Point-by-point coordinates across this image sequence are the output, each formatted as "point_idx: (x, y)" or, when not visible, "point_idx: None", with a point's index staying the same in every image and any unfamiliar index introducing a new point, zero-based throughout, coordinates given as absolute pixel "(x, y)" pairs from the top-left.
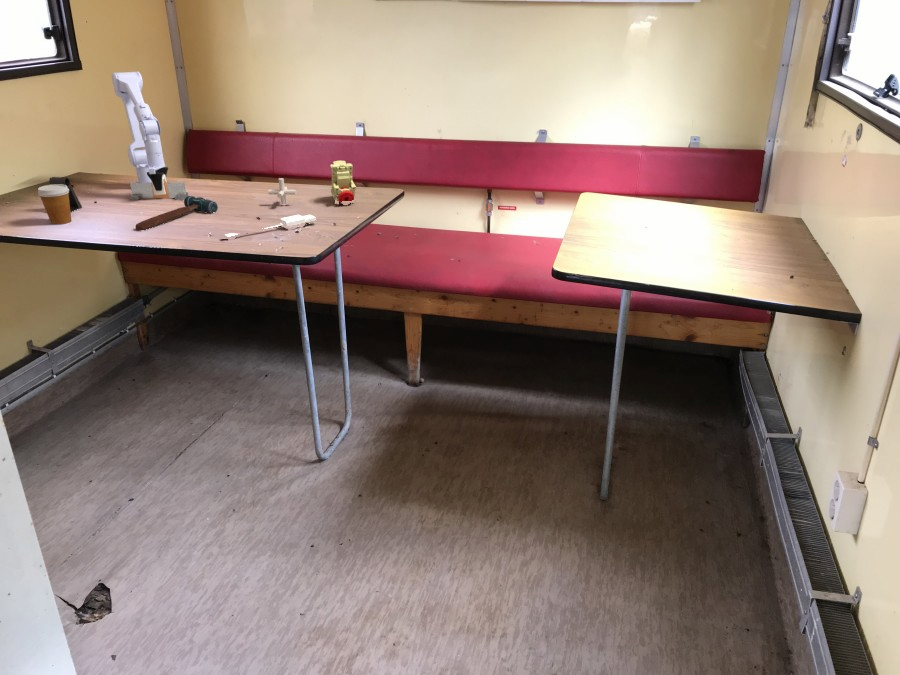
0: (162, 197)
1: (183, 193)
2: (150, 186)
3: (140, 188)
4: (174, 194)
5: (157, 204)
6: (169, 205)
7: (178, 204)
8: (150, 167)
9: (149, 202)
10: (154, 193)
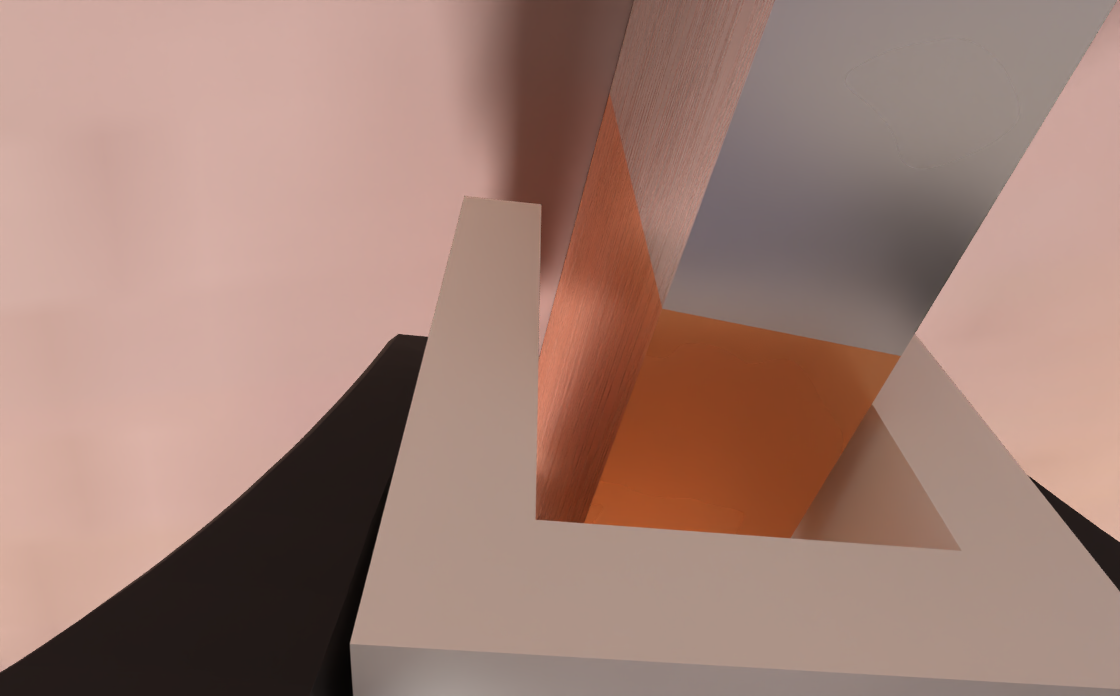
0: (554, 304)
1: None
2: (656, 190)
3: None
4: None
5: (47, 250)
6: (17, 456)
7: (110, 559)
8: None
9: (212, 32)
10: (460, 221)
